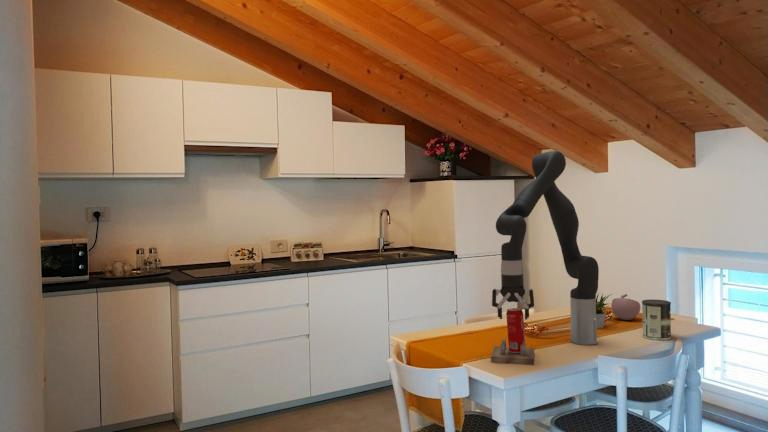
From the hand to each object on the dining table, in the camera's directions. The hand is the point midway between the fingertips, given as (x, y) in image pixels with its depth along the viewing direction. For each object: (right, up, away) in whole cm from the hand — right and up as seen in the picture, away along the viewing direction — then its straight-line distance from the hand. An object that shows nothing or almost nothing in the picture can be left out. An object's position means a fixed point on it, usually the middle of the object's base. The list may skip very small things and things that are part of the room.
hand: (513, 318), depth 198 cm
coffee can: (+62, -12, +25) cm, 68 cm away
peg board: (0, -14, +1) cm, 14 cm away
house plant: (+45, -12, +45) cm, 65 cm away
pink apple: (+64, -11, +57) cm, 86 cm away
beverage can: (+1, -12, 0) cm, 12 cm away
